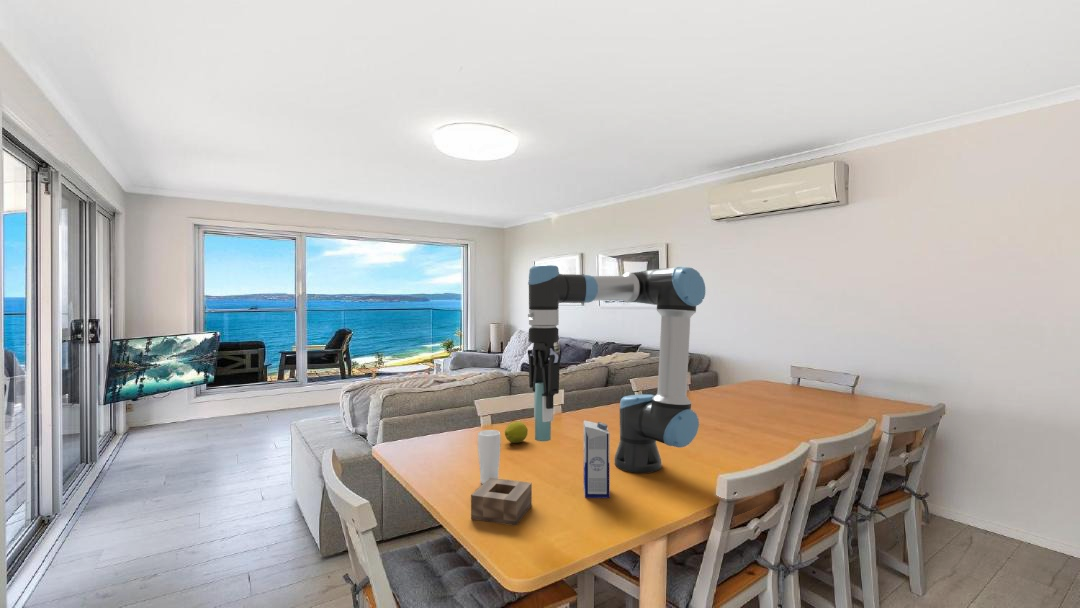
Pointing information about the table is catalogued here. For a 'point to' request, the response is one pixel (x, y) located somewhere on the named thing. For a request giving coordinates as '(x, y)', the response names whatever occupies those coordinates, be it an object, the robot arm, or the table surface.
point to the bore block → (501, 501)
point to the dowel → (540, 416)
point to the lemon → (516, 432)
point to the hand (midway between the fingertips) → (543, 418)
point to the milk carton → (596, 460)
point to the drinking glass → (489, 454)
